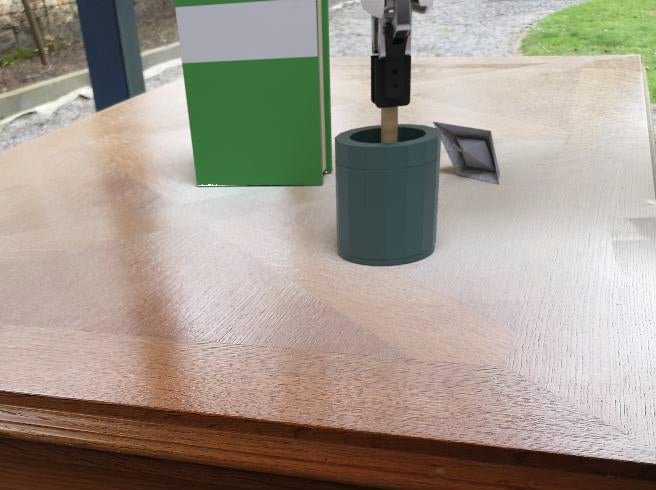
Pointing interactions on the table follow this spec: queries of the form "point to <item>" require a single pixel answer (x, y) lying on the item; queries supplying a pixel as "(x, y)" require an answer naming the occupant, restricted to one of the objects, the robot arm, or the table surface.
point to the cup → (387, 194)
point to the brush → (389, 125)
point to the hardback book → (257, 90)
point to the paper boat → (470, 151)
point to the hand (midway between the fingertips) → (390, 102)
